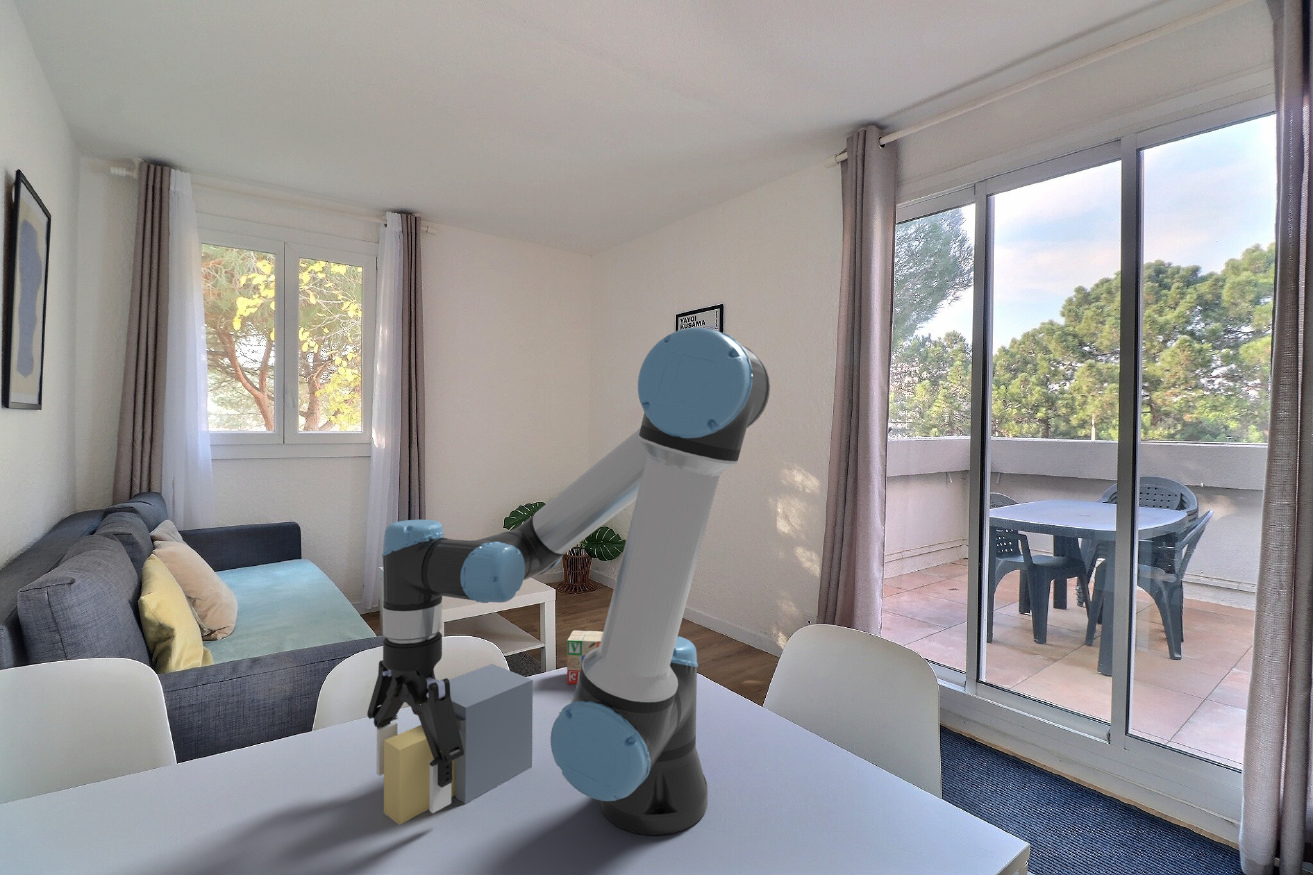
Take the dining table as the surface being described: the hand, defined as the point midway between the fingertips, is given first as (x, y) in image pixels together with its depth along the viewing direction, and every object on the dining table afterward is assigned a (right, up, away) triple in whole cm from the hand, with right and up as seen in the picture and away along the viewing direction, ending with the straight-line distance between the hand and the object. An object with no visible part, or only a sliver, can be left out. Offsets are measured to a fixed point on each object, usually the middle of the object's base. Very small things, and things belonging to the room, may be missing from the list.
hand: (412, 788), depth 84 cm
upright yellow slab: (+2, -3, +3) cm, 5 cm away
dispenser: (+7, -3, +9) cm, 11 cm away
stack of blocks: (+26, -3, +43) cm, 50 cm away
